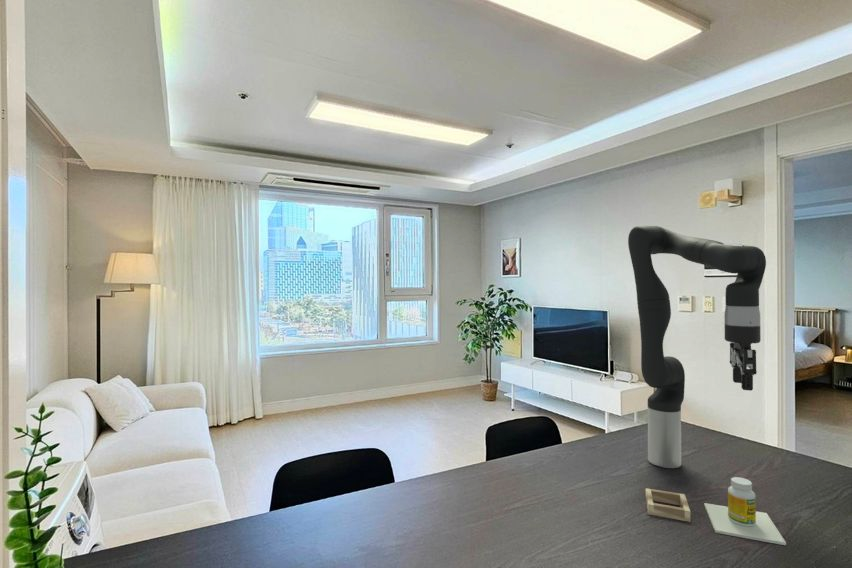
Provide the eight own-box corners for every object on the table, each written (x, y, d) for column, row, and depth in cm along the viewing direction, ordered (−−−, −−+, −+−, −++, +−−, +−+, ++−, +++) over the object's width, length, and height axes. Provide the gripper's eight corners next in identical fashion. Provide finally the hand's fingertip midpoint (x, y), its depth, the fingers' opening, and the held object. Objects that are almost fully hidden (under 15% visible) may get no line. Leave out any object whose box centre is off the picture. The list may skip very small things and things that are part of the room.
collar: (645, 497, 116) (645, 488, 116) (684, 503, 113) (684, 494, 113) (648, 514, 108) (648, 504, 108) (690, 521, 104) (690, 511, 104)
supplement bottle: (733, 512, 107) (733, 473, 107) (759, 522, 103) (759, 481, 103) (723, 519, 104) (723, 479, 104) (750, 530, 100) (749, 488, 100)
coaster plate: (704, 505, 112) (704, 503, 112) (766, 515, 107) (766, 513, 107) (715, 532, 100) (715, 530, 100) (786, 545, 95) (786, 542, 95)
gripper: (769, 326, 105) (769, 394, 105) (751, 321, 118) (751, 381, 118) (731, 325, 108) (732, 391, 108) (718, 320, 121) (719, 379, 121)
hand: (742, 386), depth 113 cm, fingers open, 8 cm apart
